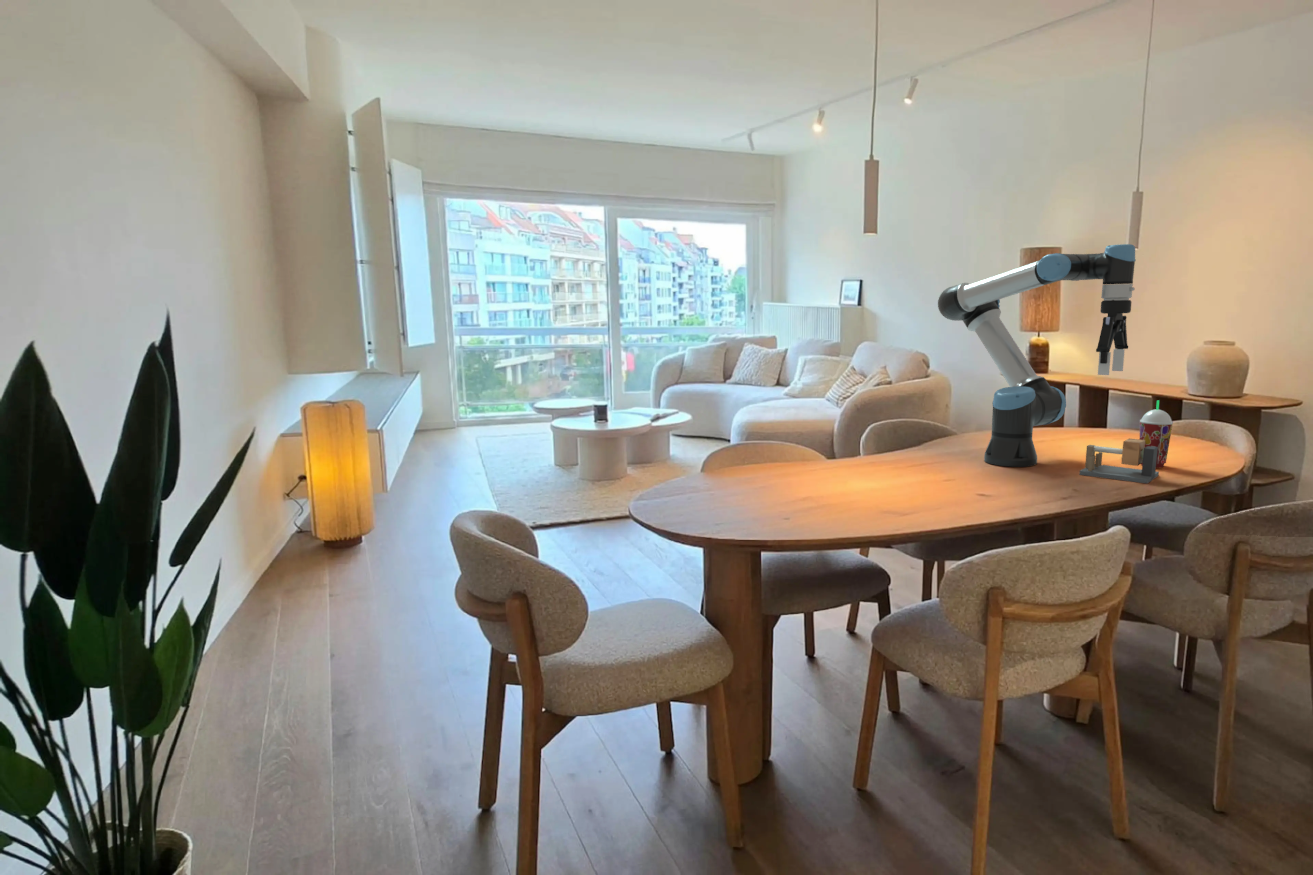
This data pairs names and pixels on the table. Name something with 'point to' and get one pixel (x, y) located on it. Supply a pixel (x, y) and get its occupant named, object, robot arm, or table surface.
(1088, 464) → the peg stand base
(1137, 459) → the sleeve
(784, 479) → the table surface
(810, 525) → the table surface
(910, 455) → the table surface
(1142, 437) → the smoothie
